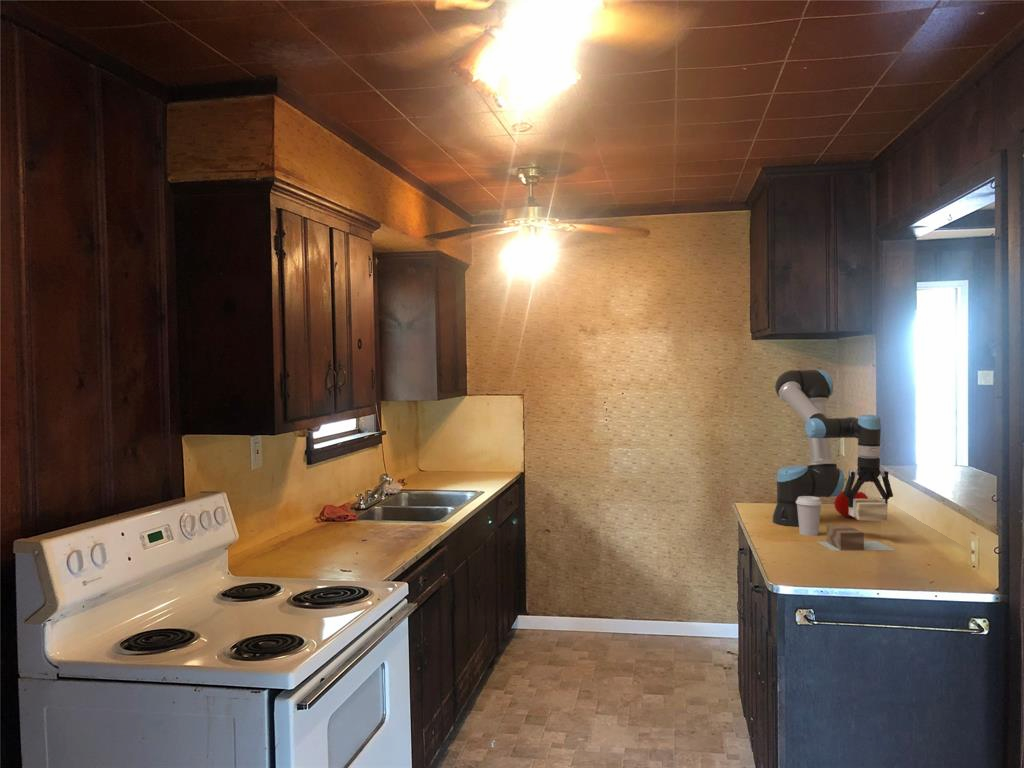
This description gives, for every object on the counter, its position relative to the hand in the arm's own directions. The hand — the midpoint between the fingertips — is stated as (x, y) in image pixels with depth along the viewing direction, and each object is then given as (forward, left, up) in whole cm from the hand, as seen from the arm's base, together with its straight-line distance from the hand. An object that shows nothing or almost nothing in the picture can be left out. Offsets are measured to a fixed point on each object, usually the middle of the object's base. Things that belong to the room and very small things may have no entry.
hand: (867, 515), depth 281 cm
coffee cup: (-7, -19, -10) cm, 22 cm away
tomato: (-44, +14, -10) cm, 48 cm away
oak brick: (0, 0, -1) cm, 1 cm away
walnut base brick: (+13, -14, -8) cm, 20 cm away
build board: (+12, -10, -9) cm, 18 cm away
